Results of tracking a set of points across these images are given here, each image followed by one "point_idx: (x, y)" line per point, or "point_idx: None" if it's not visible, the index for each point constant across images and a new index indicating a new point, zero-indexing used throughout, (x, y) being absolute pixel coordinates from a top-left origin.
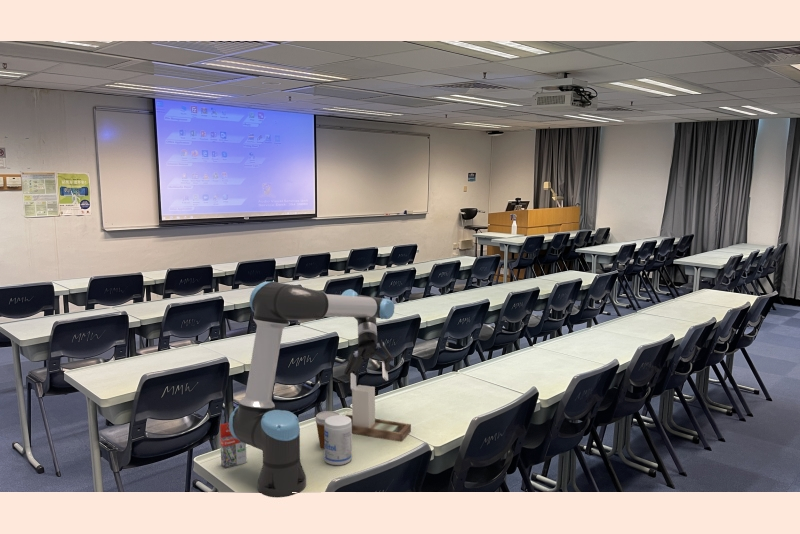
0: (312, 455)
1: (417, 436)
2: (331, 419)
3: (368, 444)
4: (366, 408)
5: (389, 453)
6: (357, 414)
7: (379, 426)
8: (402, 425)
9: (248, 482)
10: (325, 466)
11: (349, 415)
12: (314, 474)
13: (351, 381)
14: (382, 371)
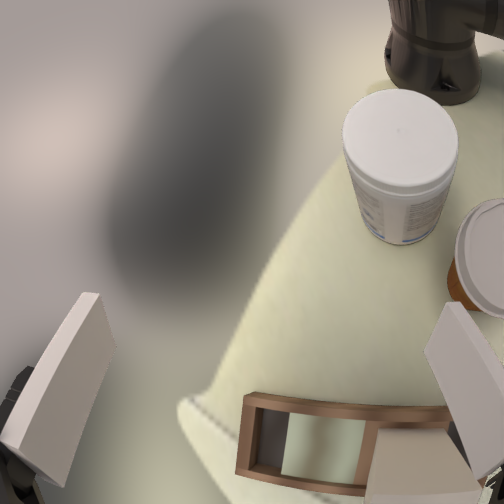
0: None
1: (219, 435)
2: (430, 126)
3: (354, 343)
4: (388, 456)
5: (268, 301)
6: (430, 444)
7: (345, 458)
8: (263, 472)
9: (493, 65)
10: None
11: None
12: None
13: (487, 353)
14: (70, 343)
